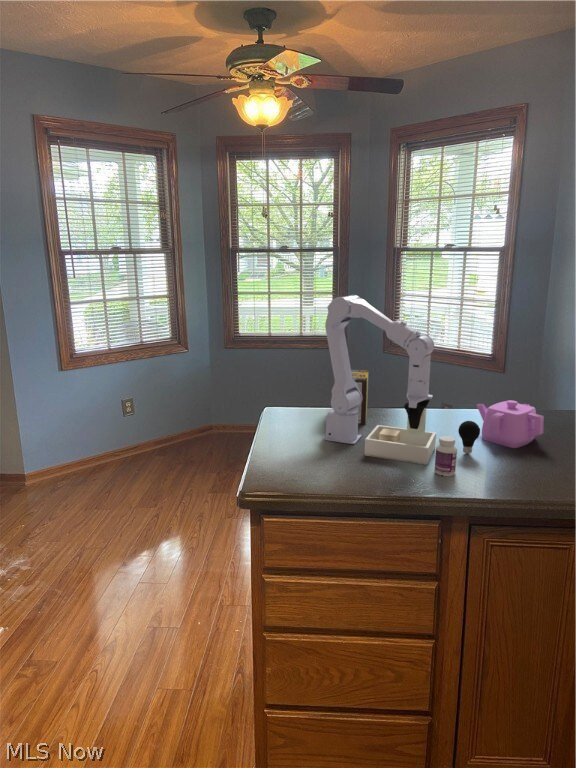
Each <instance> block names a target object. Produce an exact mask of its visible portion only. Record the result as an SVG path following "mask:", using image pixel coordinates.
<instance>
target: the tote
mask: <svg viewBox="0 0 576 768" xmlns="http://www.w3.org/2000/svg"><path fill="white" fill-rule="evenodd" d="M383 429H391V430H398V431H400V443H396V442H389V441H382V440H379V433H380V432H381V431H382V430H383ZM436 439H437V432H435V431H434V432H433V431H426V430H425V433H424V434H422V435H413V434H409V433H408V432H407V428H403V427H397V426H388V425H380V424H377V425H376V426H375V427H374V428H373V429H372V431H371V432H370V433H369V434H368V436H367V437H365V438H364V440H365V441H364V456H366V457H373V458H379V459H385V460H391V461H398V462H404V463H410V462H411V464H416V463H418V464H417V465H422V464H425V465H424V466H428V464H429V462H430V460H431V458H432V455H433V454H434V452H435V451H436ZM433 451H434V452H433Z"/></svg>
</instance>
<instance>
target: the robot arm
mask: <svg viewBox="0 0 576 768" xmlns="http://www.w3.org/2000/svg"><path fill="white" fill-rule="evenodd" d="M356 318H361V319H365V320H366V321H368V322H370V323H371V324H373V325H375V326H376V327H378V328H380V329H381V330H383V331H385V334H386V338H387V339H389V340H390V341H392V342H394V343H395V344H397V345H398V346H400V347H401V348H402V349H405V350H406V353H407V355H408V356H409V357H408V358H409V361H408V362H409V363H408V376H407V377H408V378H407V379H408V381H407V393H406V398H407V400H408V402H404V405H403V406H404V410H405V411H406V415H407V420H408V419H409V425H410V428H411V429H418V427H419V424H420V419H421V415H422V412H423V410H424V409H425V408H426V409H427V407H428V404H429V403H430V401H431V399H433V394H429V392H430V391H429V389H430V377H431V375H430V374H431V359H432V358H431V357H432V353H433V352H434V349H435V342H434V339H433V338H431V337H430V336H429V334H421V332H420V330H417V331H416V330H415V329H413V328H412V327H410V326H408V323H407V322H406V321H405V320H394V321H393V320H391V319H390V317H387V316H386V315H385V314H383V313H382V312H381V311H379V310H378V309H376V308H375V307H374V306H372V305H371V304H370V303H368V301H366V299H363V298H361V297H360V296H359V295H356V294H349V295H347V296H338V297H335V298H334V299H332V300H331V301H330V303H329V304H328V306H327V315H326V318H325V319H326V320H325V324H324V325H325V334H326V339H327V344H328V351H329V355H330V362H331V368H332V373H333V378H334V379H333V380H334V383H333V387H331V388H332V389H331V399H330V405H331V408H332V409H329V410H328V411H327V415H326V421H325V425H326V427H325V439H324V440H325V441H330V442H334V443H335V442H336V443H342V444H349V445H350V444H351V445H355V444H356V443H357V442H358V441H359V440H360V439H361V437H362V434H358V433H359V432H358V427H359V424H358V406H359V405H360V404H361V403H362V394H361V392H360V391H359V389H358V385H357V383H356V382H355V381H354V380H353V379H352V373H351V370H352V367H351V363H350V356H349V351H348V345H347V344H348V343H347V338H346V333H345V328H346V327H347V325H348V324H349V323H350V321H352V320H353V319H356Z"/></svg>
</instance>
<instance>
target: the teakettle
mask: <svg viewBox="0 0 576 768" xmlns="http://www.w3.org/2000/svg"><path fill="white" fill-rule="evenodd" d="M476 407H477V410H478V411H479V414H480V416H481V420H482V421H483V423H482V426H481V427H482V428H481V437H482V440H483V441H486V442H490V443H493V444H496V445H499V446H503V447H507V448H511V449H519V448H522V447H524V446H526V445H528V444H530V443H531V442H533V441H534V439H536V438H535V437H537V436H541V435H542V434H544V419H545V417H544V415H541V414H537V412H536V408H535V406H531V404H527V403H519V402H518V401H516V400H511V399H509V400H505V401H500V402H497V403H495V404H492V405H490V406H489V407H486V406H485V404H484V403H478V404H476Z"/></svg>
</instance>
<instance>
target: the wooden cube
mask: <svg viewBox="0 0 576 768" xmlns="http://www.w3.org/2000/svg"><path fill="white" fill-rule="evenodd" d="M379 440H382V441H389V442H396V443H400V431H398V430H391V429H383V430H382V431H381V432H380V433H379Z"/></svg>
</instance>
